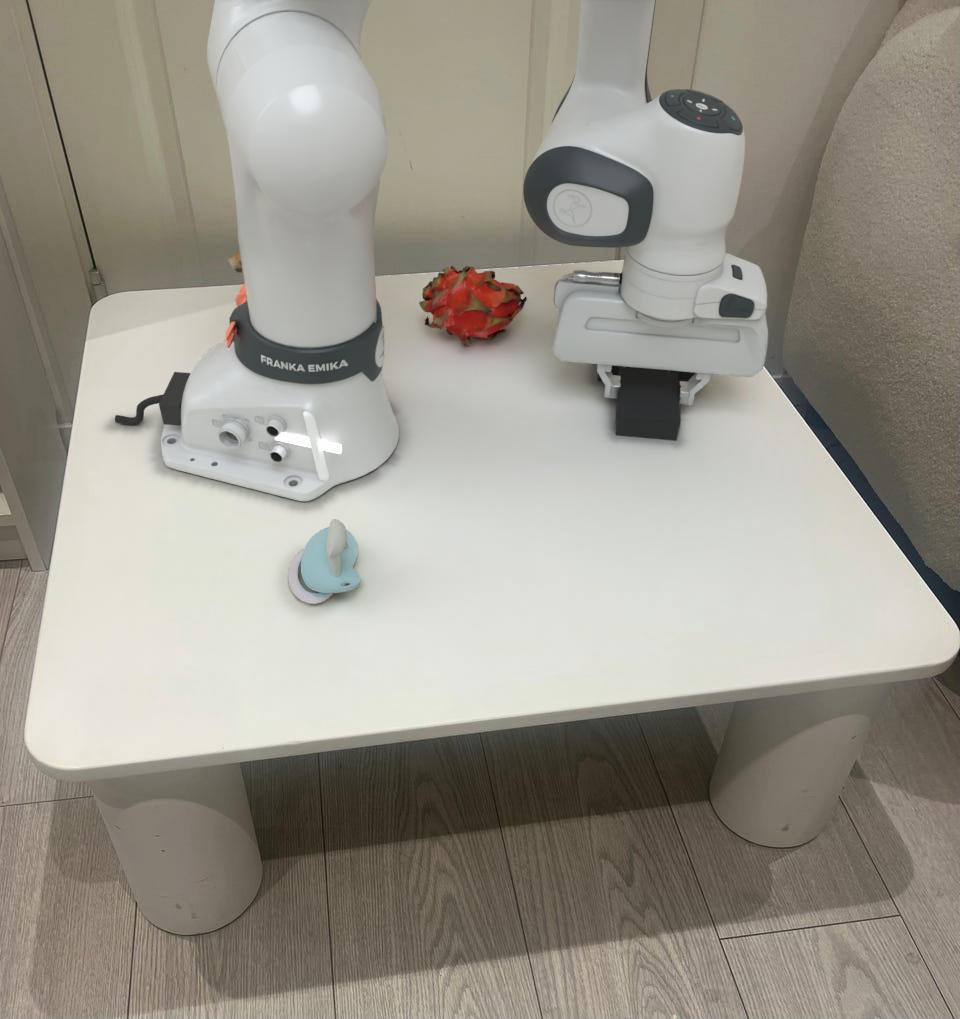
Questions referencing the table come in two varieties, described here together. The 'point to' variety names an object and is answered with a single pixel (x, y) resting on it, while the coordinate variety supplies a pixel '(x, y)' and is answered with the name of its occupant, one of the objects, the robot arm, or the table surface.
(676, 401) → the pad
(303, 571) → the pacifier
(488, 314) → the dragon fruit
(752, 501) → the table surface
